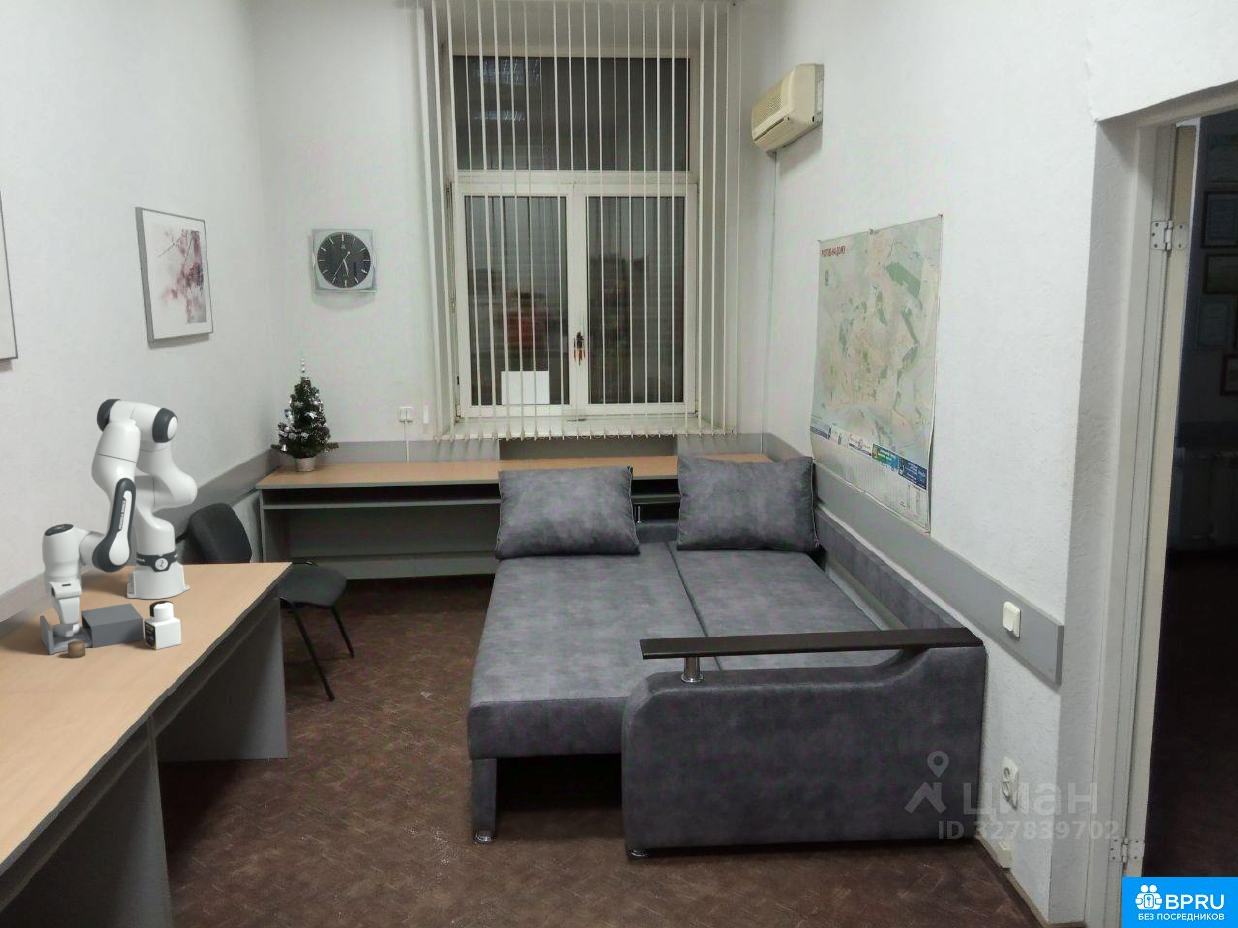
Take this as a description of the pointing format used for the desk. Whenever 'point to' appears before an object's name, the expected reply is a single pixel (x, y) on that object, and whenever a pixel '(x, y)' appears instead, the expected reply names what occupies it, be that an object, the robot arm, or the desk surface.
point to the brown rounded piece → (76, 649)
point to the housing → (113, 624)
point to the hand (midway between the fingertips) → (66, 631)
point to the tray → (61, 643)
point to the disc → (60, 630)
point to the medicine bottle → (162, 626)
